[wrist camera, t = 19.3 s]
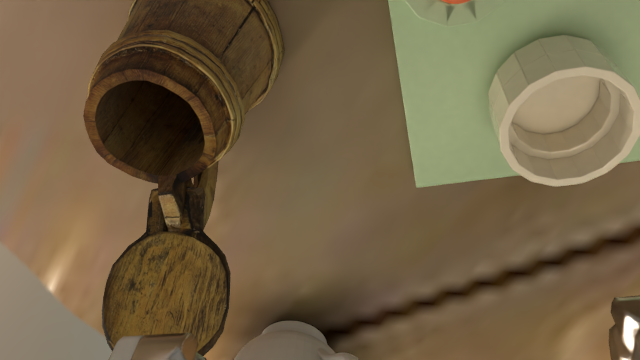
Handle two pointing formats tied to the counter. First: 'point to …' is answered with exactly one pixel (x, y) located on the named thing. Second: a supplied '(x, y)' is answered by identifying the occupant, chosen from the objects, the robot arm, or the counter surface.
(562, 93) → the bowl
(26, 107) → the counter surface
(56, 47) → the counter surface
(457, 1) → the button
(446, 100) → the scale
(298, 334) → the teacup
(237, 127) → the wooden mug
